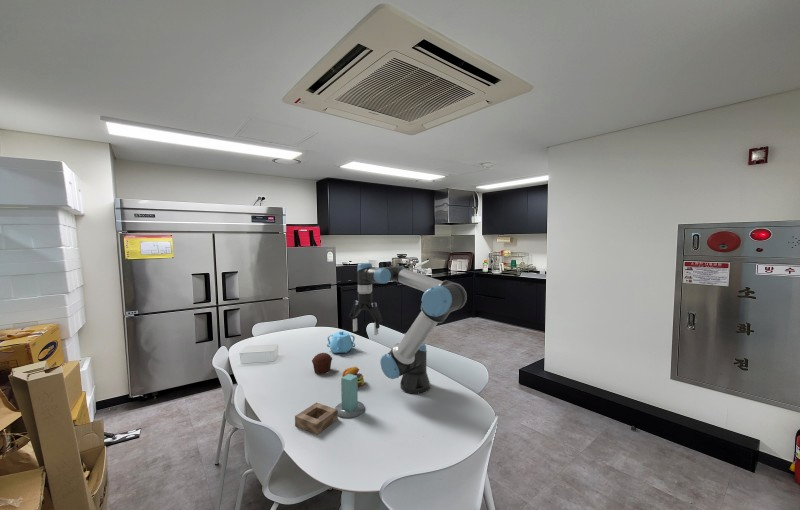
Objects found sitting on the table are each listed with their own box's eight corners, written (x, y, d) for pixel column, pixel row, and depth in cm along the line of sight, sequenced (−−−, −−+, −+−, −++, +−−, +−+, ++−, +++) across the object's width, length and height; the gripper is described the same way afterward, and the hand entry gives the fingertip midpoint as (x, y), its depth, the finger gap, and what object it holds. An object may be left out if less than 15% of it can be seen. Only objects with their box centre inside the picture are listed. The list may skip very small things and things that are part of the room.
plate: (370, 406, 138) (370, 404, 138) (352, 421, 126) (352, 419, 126) (347, 399, 144) (347, 397, 144) (328, 413, 133) (328, 411, 133)
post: (357, 406, 136) (357, 375, 136) (350, 412, 132) (350, 380, 131) (348, 403, 139) (348, 373, 138) (341, 409, 134) (341, 377, 134)
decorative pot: (357, 351, 208) (357, 332, 207) (335, 357, 198) (335, 336, 198) (346, 345, 221) (346, 326, 220) (325, 350, 211) (325, 330, 211)
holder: (337, 418, 128) (337, 409, 128) (316, 434, 118) (316, 424, 118) (316, 411, 134) (316, 402, 134) (295, 425, 124) (294, 416, 124)
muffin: (321, 377, 169) (321, 359, 168) (307, 372, 174) (307, 355, 174) (336, 369, 179) (336, 352, 178) (323, 365, 185) (322, 349, 184)
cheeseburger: (361, 389, 154) (356, 370, 154) (342, 392, 156) (337, 373, 156) (367, 380, 164) (362, 362, 164) (349, 383, 166) (344, 365, 166)
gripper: (389, 293, 157) (389, 334, 158) (350, 289, 169) (351, 327, 170) (381, 295, 150) (381, 338, 151) (341, 291, 162) (342, 331, 163)
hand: (365, 332), depth 160 cm, fingers open, 13 cm apart
